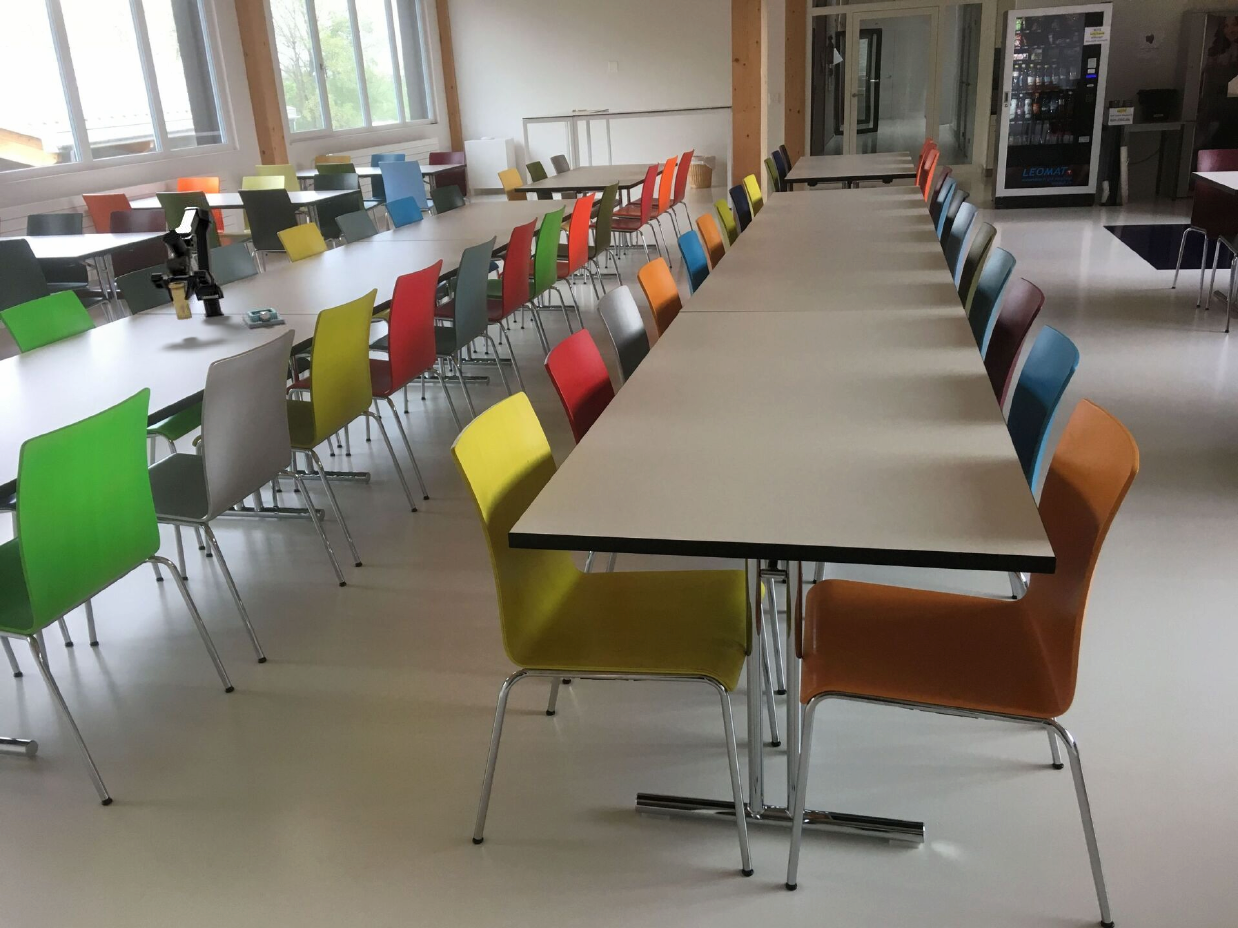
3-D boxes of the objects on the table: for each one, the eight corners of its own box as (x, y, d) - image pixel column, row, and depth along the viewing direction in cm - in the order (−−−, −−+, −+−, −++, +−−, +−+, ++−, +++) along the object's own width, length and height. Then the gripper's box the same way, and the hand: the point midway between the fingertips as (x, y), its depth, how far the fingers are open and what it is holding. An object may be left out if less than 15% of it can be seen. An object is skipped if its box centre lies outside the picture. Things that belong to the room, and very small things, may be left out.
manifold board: (242, 319, 353) (240, 307, 352) (276, 314, 358) (274, 302, 357) (249, 328, 338) (247, 316, 337) (284, 323, 343) (282, 310, 342)
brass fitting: (174, 318, 333) (166, 284, 329) (190, 315, 336) (182, 281, 332) (179, 320, 329) (171, 285, 325) (195, 317, 332) (187, 283, 328)
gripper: (144, 250, 327) (141, 289, 321) (201, 246, 328) (198, 284, 322) (157, 269, 337) (154, 307, 331) (212, 265, 339) (210, 303, 332)
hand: (179, 300), depth 329 cm, fingers closed on brass fitting, 5 cm apart
